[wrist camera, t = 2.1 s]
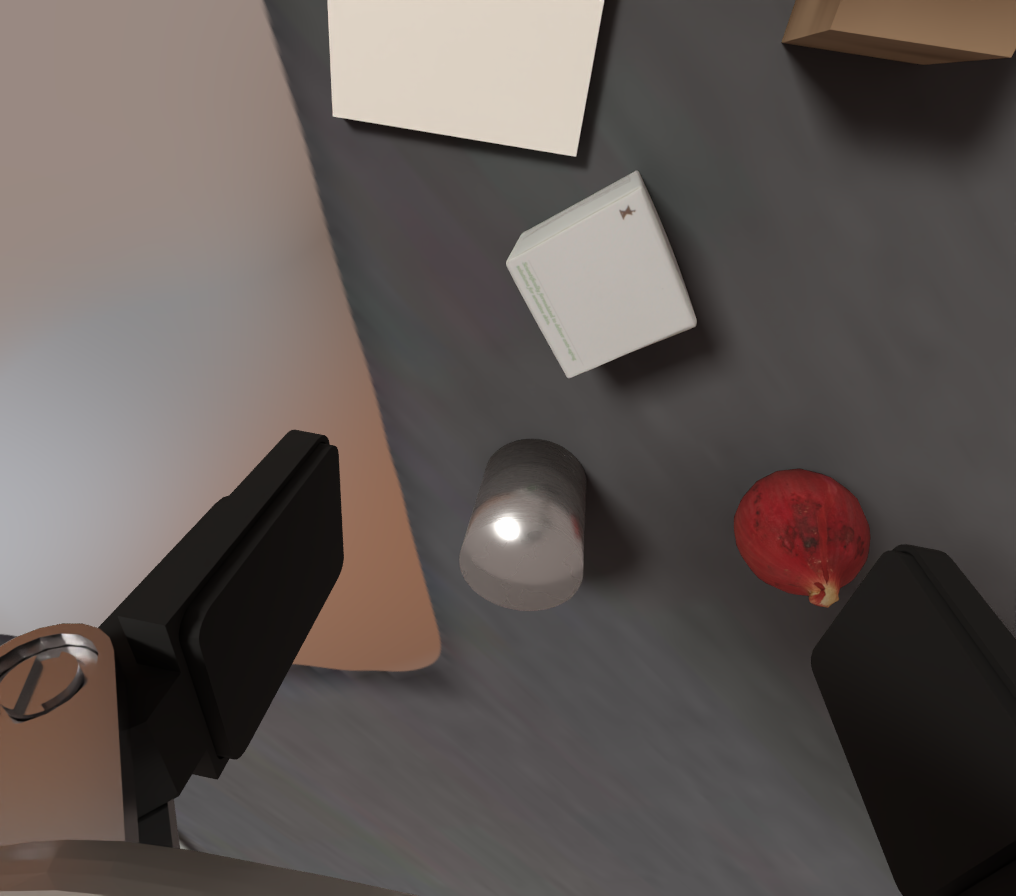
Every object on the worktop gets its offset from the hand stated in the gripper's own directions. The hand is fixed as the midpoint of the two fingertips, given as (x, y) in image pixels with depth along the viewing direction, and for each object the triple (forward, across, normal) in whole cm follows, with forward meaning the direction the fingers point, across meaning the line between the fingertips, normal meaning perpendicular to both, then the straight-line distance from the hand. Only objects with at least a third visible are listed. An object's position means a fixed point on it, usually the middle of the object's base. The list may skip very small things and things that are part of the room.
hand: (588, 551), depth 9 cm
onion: (+18, -12, +9) cm, 24 cm away
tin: (+18, +1, +12) cm, 22 cm away
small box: (+18, 0, -1) cm, 18 cm away
